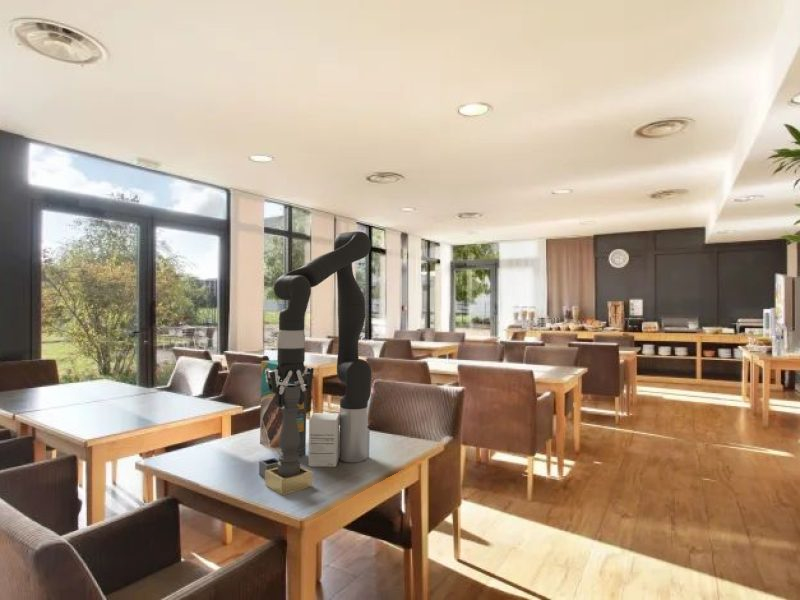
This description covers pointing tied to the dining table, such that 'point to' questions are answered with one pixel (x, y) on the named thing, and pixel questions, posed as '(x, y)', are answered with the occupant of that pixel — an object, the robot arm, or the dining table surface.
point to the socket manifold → (287, 484)
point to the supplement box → (324, 439)
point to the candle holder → (289, 433)
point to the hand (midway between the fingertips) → (290, 405)
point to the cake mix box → (277, 414)
